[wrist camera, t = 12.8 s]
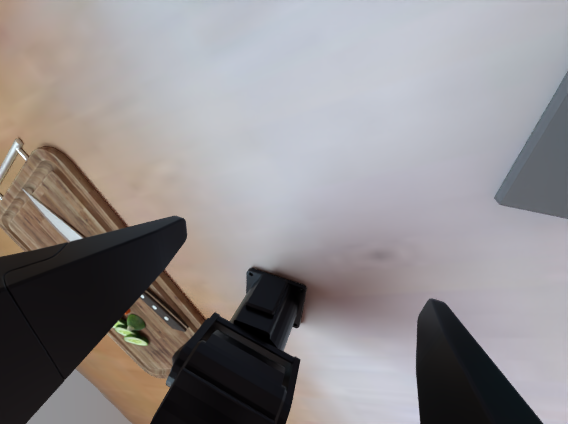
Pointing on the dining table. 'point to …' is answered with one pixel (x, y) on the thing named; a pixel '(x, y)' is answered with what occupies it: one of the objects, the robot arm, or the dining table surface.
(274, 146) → the dining table surface
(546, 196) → the thin grey square panel
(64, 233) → the chopping board
